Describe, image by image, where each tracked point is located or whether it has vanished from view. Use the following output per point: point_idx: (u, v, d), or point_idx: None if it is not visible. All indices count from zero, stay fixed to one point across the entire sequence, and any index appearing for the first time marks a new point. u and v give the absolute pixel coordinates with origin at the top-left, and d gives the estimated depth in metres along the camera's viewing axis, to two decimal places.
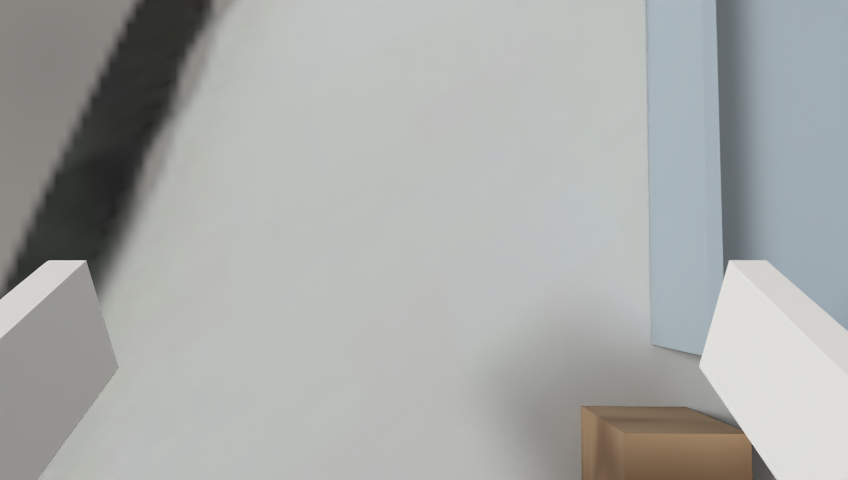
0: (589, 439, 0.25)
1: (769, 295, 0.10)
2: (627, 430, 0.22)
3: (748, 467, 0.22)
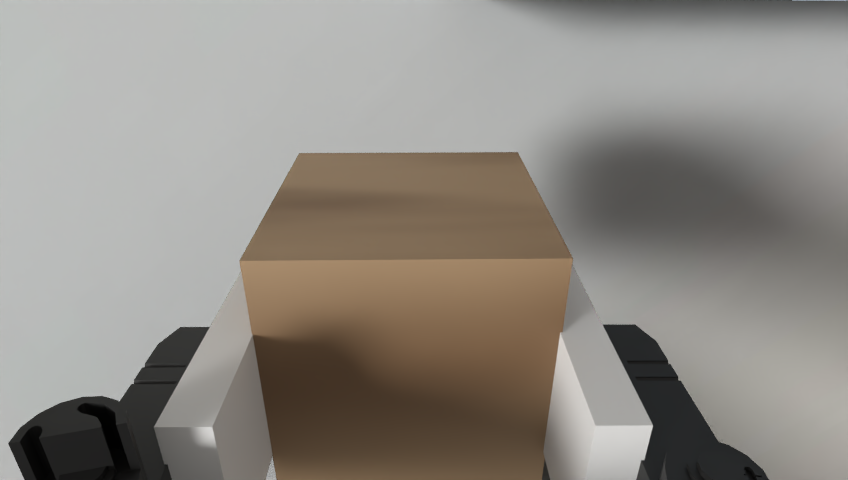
0: None
1: None
2: (269, 246, 0.09)
3: (555, 326, 0.09)
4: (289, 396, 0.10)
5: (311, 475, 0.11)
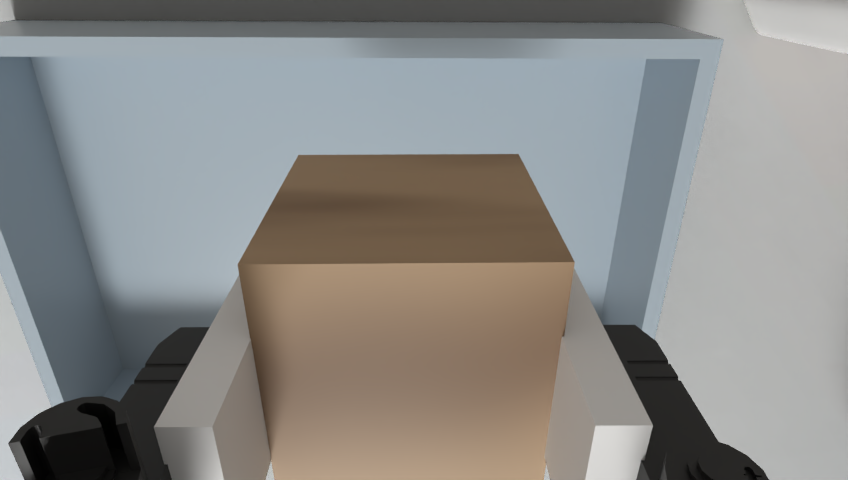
0: None
1: None
2: (268, 249, 0.09)
3: (556, 330, 0.09)
4: (288, 401, 0.10)
5: None
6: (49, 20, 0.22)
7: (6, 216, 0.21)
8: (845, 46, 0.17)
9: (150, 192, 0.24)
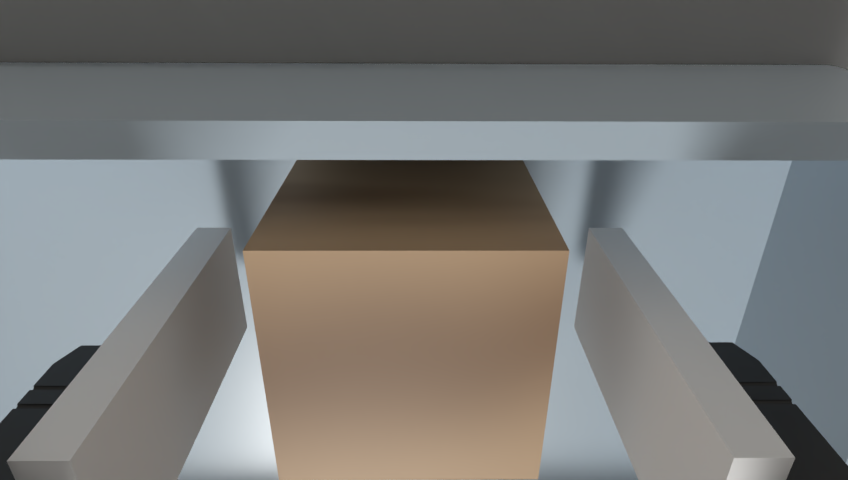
0: None
1: (610, 255, 0.11)
2: (272, 237, 0.09)
3: (552, 318, 0.09)
4: (290, 386, 0.10)
5: (311, 465, 0.11)
6: None
7: None
8: None
9: None
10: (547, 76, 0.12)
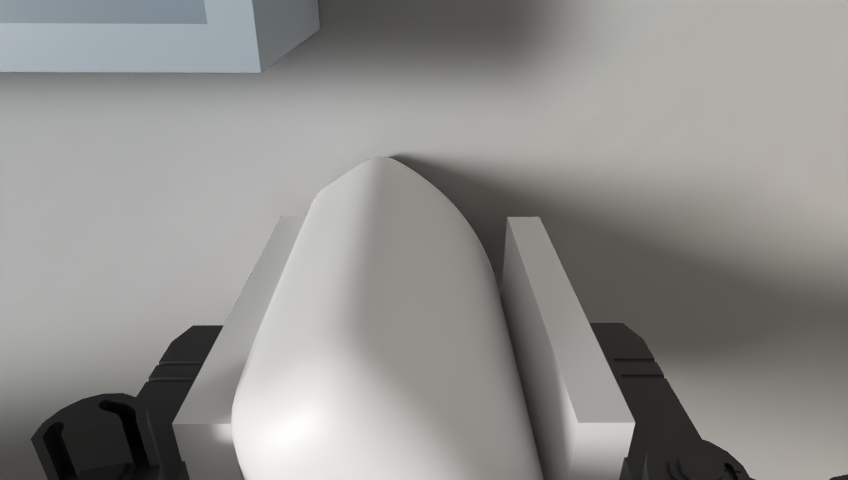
0: None
1: (520, 242, 0.12)
2: None
3: None
4: None
5: None
6: None
7: None
8: (272, 317, 0.08)
9: None
10: None
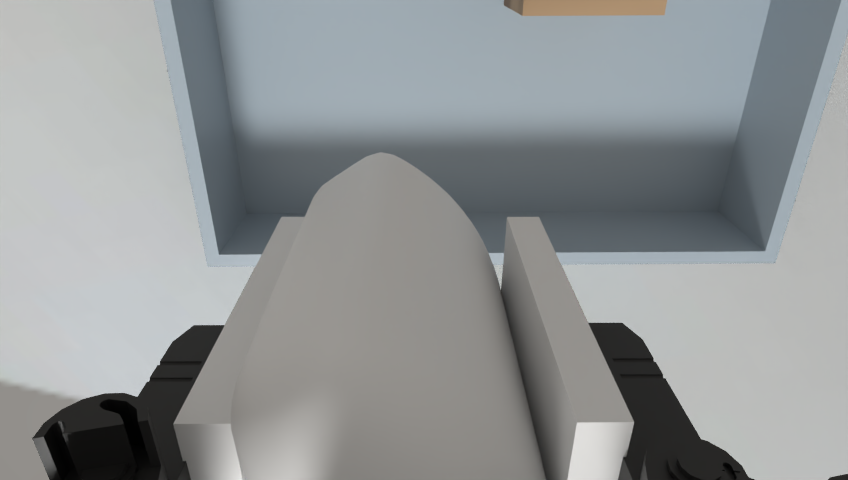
0: None
1: (520, 242, 0.12)
2: None
3: None
4: None
5: (541, 3, 0.20)
6: None
7: None
8: (271, 311, 0.08)
9: (293, 8, 0.24)
10: None
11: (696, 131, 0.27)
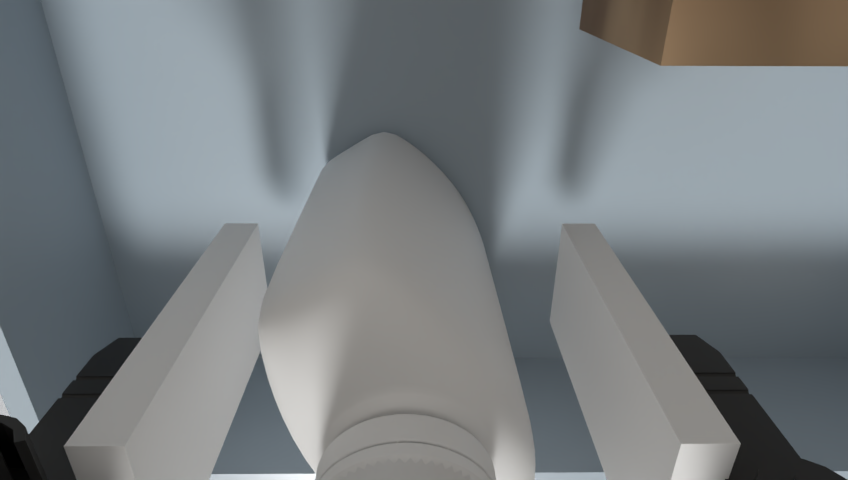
0: None
1: (581, 250, 0.12)
2: None
3: None
4: None
5: (707, 39, 0.09)
6: None
7: None
8: (291, 248, 0.09)
9: (196, 31, 0.13)
10: None
11: None
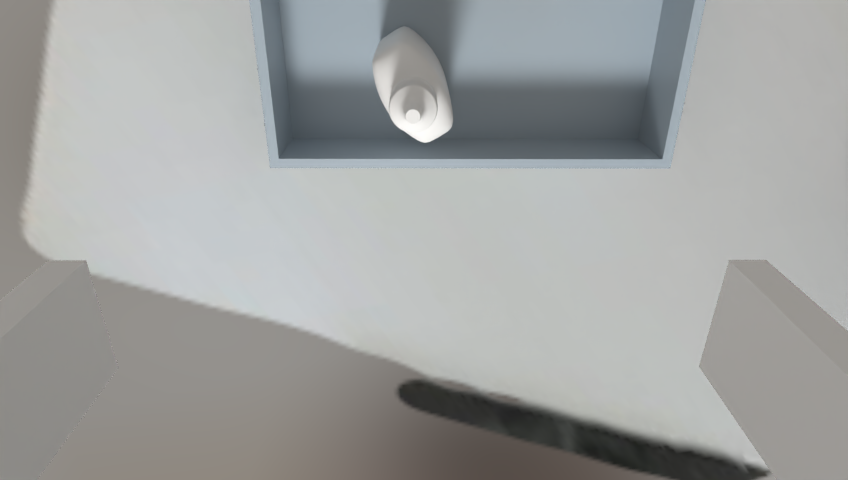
0: None
1: (770, 295, 0.10)
2: None
3: None
4: None
5: None
6: None
7: None
8: (378, 49, 0.31)
9: None
10: None
11: (619, 78, 0.37)
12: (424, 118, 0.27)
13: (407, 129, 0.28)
